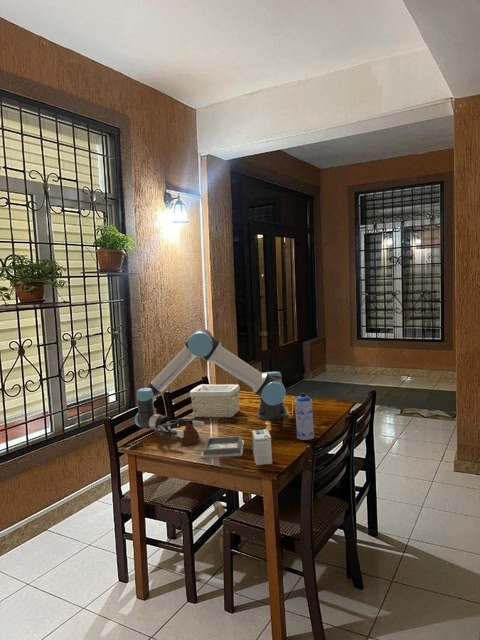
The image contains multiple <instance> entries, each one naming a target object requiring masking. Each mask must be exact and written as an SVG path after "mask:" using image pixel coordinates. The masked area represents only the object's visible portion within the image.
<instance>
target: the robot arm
mask: <svg viewBox="0 0 480 640" xmlns="http://www.w3.org/2000/svg"><path fill="white" fill-rule="evenodd" d="M195 358H201V359H202V360H204V361H205V362H213V363H214V364H216V365H217V366H218V367H220V368H221V369H223V370H224V371H225V372H228V373H229V374H230V375H232V376H233V377H235V378H236V379H238V380H239V381H241V382H242V383H244V384H245V385H247V386H248V387H250V388H251V389H252V392H253V394H255V395H256V396H257V397H259V406H258V410H257V417H258V419H260V420H264V421H275V420H276V421H277V420H282V419H284V418H286V417H288V411H287V408H286V406H285V403H284V399H285V397H286V393H287V392H286V388H285V386H284V383H283V382H282V378H283V377H282V373H281V372H280V371H266V372H260V371H259V370H258V369H257V368H254V367H253V366H252V365H250V364H249V363H247V362H246V361H244V360H243V359H241V358H240V357H239V356H237V355H235V354H234V353H233V352H231V351H229V350H228V349H226V348H225V347H223V346H222V343H221V341H220V340H218V339H217V338H215V337H214V336H213V335H212V333H211V332H210V331H209V330H208V329H206V328H198V329H196V330H194V331H193V332H192V333H191V335H189V338H188V339H187V341H186V342H185V343H184V347H183V348H182V349H181V350H180V351H179V352H177V354H176V355H175V356H174V357H173V359H172V360H170V362H169V363H168V364H167V365H166V366H165V367H164V368H163V369H162V370H161V371H160V372H159V373H158V374H157V375H156V376H155V378H153V379H152V380H151V382H150V383H148V385H147V386H145V387H141V388H139V389H137V391H136V400H137V408H138V412H137V413H136V414H135V418H134V423H135V426H138V427H139V428H141V429H142V428H143V429H148V430H153V431H156V432H158V433H160V434H161V435H163V436H164V437H168V438H171V437H172V436H174V437H178V438H179V437H184V436H183V430H181V429H178V428H181V427H186V424H187V423H190V424H191V425H192V426H193V427H194V428H200V429H204V428H205V421H199V420H197V417H192V418H190V417H189V418H179V417H178V418H176V419H172V418H171V417H170V416H168V415H162V414H159V413H155V405H154V402H155V400H156V399H157V397H159V396H160V394H161V393H162V392H164V390H165V389H166V388H167V387H168V386H169V385H170V384H171V383H172V382H173V381H174V380H175V379H176V378H177V377H178V375H180V374H181V373H182V371H183V370H184V369H185V368H187V366H188V365H189V364H190V363H192V361H193V360H194V359H195Z"/></svg>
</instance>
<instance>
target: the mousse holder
mask: <svg viewBox="0 0 480 640" xmlns="http://www.w3.org/2000/svg"><path fill="white" fill-rule="evenodd" d="M242 438H243V437H242V435H236V436H234V435H233V436H232V435H231V436H216V437H215V436H214V437H213V436H212V437H206V440H205V443H204V446H203V449H202V452H201V454H200V457H201V459H202V458H205V459H206V458H207V459H208V458H220V457H222V458H223V457H240V456H241V457H242V456H243V453H244V444H245V443H244V442H245V440H244V439H242Z"/></svg>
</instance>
